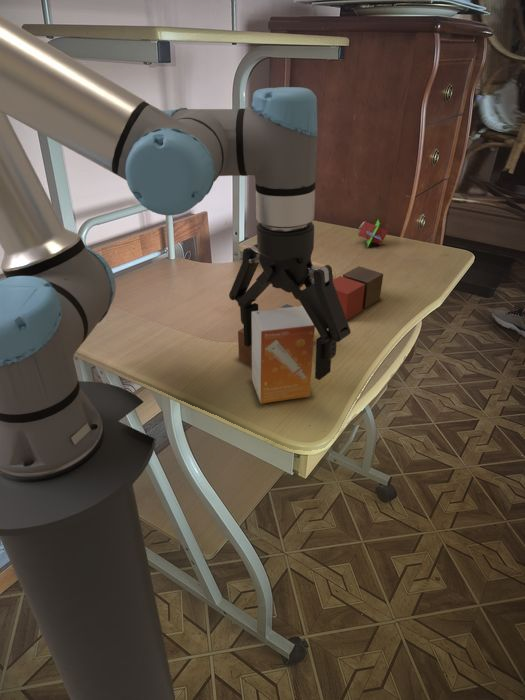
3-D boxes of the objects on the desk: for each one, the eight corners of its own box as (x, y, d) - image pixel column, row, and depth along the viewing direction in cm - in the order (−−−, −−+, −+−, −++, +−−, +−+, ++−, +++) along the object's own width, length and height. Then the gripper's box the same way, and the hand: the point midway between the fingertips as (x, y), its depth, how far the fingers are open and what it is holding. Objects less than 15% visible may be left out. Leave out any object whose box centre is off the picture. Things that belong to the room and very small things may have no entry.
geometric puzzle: (391, 233, 135) (375, 209, 132) (394, 241, 130) (378, 217, 127) (367, 247, 138) (352, 224, 135) (370, 256, 132) (354, 233, 129)
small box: (260, 405, 76) (260, 331, 69) (251, 381, 81) (250, 310, 74) (311, 397, 77) (315, 324, 70) (299, 374, 82) (302, 304, 76)
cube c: (320, 312, 101) (322, 285, 98) (337, 302, 105) (340, 275, 102) (345, 321, 98) (348, 294, 95) (362, 311, 102) (365, 284, 98)
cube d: (340, 300, 106) (342, 274, 102) (356, 291, 109) (358, 266, 106) (364, 309, 102) (367, 282, 99) (379, 299, 106) (383, 273, 103)
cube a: (238, 360, 86) (237, 330, 83) (261, 347, 90) (261, 318, 87) (264, 374, 83) (264, 343, 80) (287, 359, 87) (288, 329, 84)
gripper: (386, 234, 60) (370, 377, 71) (236, 199, 74) (242, 323, 85) (351, 252, 55) (340, 403, 66) (198, 211, 70) (210, 340, 81)
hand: (285, 359), depth 76 cm, fingers open, 13 cm apart
